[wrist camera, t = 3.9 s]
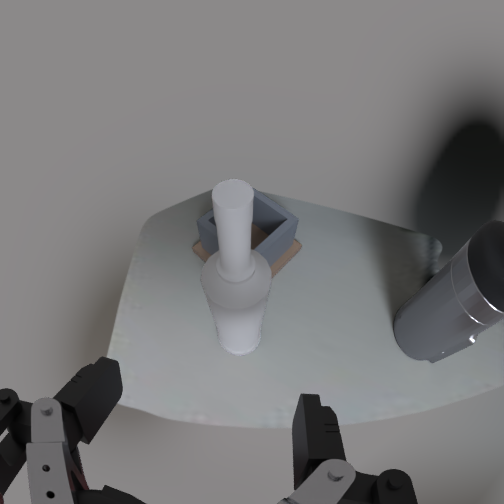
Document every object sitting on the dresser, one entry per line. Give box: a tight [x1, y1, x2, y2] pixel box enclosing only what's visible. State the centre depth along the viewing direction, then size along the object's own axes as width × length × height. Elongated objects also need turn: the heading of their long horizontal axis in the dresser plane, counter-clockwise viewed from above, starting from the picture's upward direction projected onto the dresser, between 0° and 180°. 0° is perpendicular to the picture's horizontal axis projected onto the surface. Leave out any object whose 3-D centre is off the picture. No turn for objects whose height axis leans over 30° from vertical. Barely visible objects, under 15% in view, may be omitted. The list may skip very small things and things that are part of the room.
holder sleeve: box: [192, 187, 302, 279], centre depth 39 cm, size 11×11×7 cm
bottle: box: [201, 179, 272, 356], centre depth 24 cm, size 5×5×25 cm
